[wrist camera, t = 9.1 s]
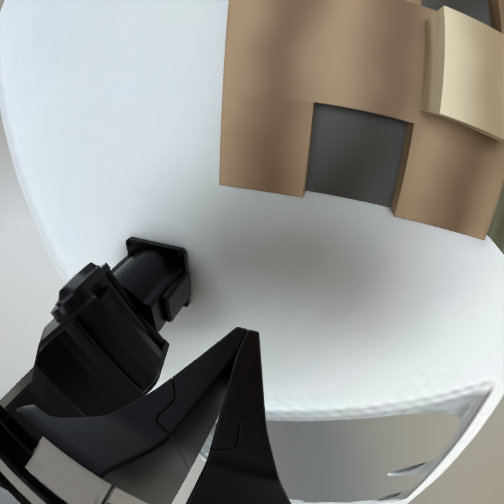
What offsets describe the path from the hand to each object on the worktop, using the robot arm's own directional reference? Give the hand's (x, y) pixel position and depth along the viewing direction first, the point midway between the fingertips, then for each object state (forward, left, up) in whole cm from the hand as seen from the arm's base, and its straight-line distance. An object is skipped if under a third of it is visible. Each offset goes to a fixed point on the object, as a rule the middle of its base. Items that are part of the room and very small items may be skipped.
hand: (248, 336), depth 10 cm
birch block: (+10, +12, -10) cm, 18 cm away
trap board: (+4, +12, -12) cm, 18 cm away
